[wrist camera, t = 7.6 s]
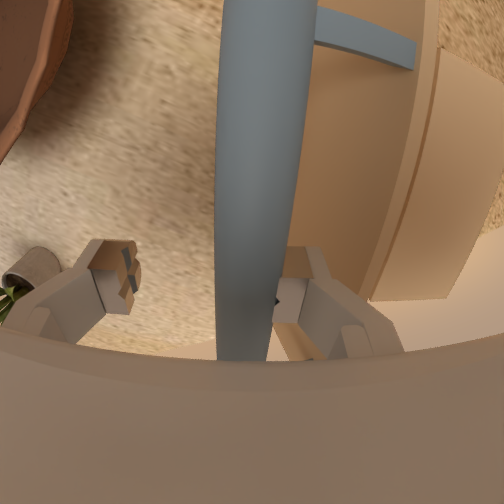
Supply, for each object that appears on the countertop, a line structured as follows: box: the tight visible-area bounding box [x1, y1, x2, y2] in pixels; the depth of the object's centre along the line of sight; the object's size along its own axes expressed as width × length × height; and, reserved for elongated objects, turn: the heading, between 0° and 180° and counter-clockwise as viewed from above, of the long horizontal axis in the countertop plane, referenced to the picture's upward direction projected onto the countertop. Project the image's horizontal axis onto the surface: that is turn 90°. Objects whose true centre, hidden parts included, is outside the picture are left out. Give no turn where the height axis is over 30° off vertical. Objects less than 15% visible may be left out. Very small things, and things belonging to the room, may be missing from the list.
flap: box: [214, 0, 440, 361], centre depth 11 cm, size 8×18×5 cm
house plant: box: [0, 247, 61, 327], centre depth 24 cm, size 14×14×16 cm
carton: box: [369, 48, 504, 302], centre depth 19 cm, size 16×18×11 cm
